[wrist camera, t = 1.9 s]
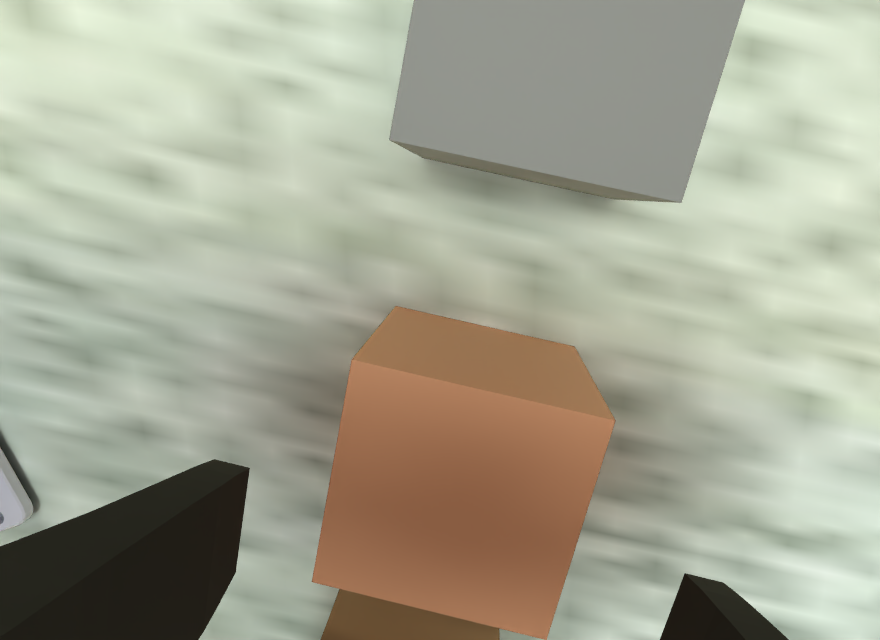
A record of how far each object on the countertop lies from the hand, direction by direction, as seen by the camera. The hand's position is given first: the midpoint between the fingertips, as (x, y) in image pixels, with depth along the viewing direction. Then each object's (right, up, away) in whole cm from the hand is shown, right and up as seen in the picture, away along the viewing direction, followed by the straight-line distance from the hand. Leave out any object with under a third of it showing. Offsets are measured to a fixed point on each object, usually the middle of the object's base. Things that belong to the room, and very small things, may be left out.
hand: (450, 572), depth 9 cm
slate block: (+2, +10, +5) cm, 11 cm away
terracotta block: (+1, +2, +7) cm, 7 cm away
